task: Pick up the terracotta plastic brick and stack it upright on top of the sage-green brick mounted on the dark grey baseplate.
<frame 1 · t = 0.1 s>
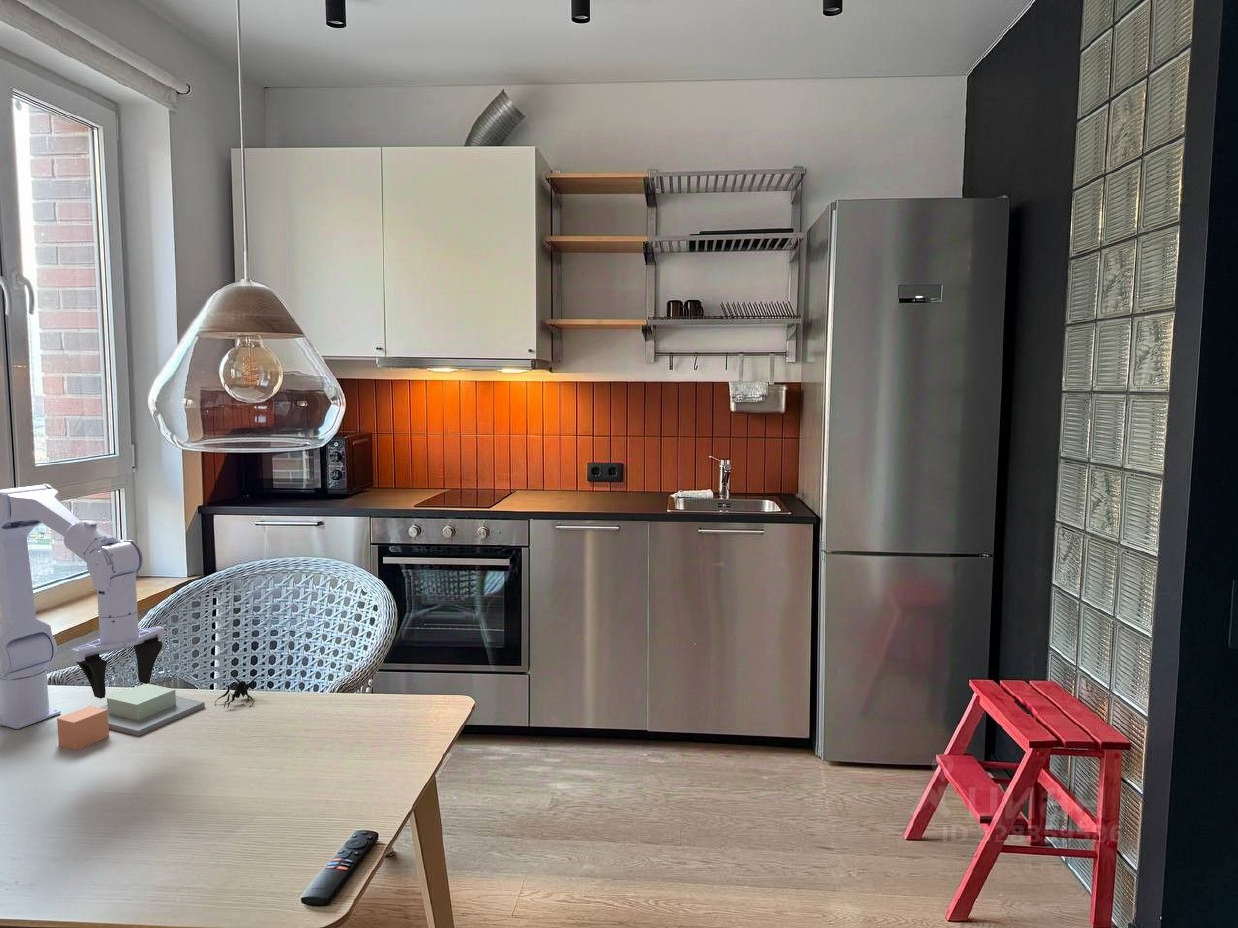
hand: (122, 689, 142), 10 cm above the table, tool pointing down, fingers open, 7 cm apart
creature: (236, 704, 161), on the table
tower base: (142, 713, 156), on the table
top brick: (84, 741, 145), on the table
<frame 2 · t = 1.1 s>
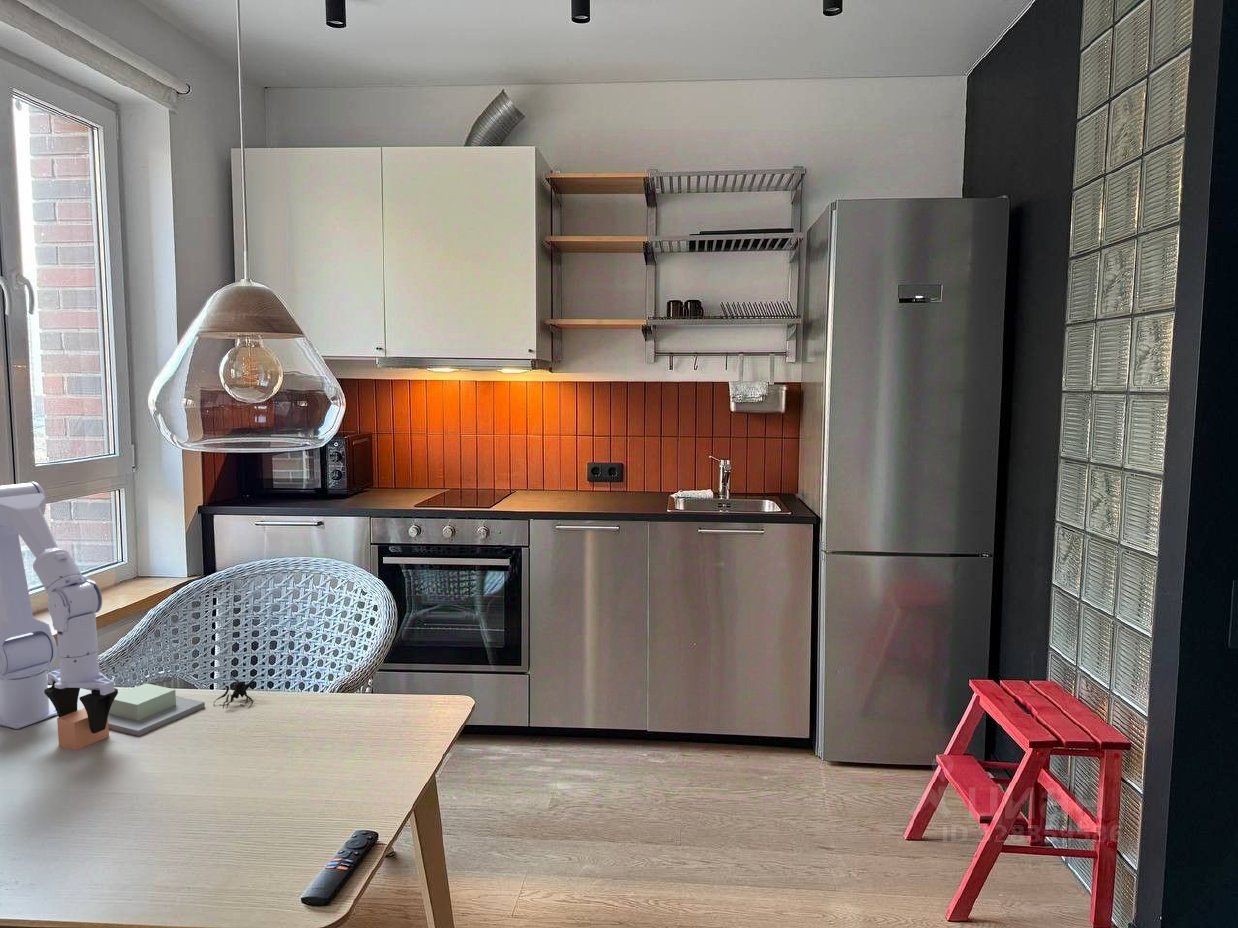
hand: (83, 727, 144), 2 cm above the table, tool pointing down, fingers open, 7 cm apart
nothing on the table moved.
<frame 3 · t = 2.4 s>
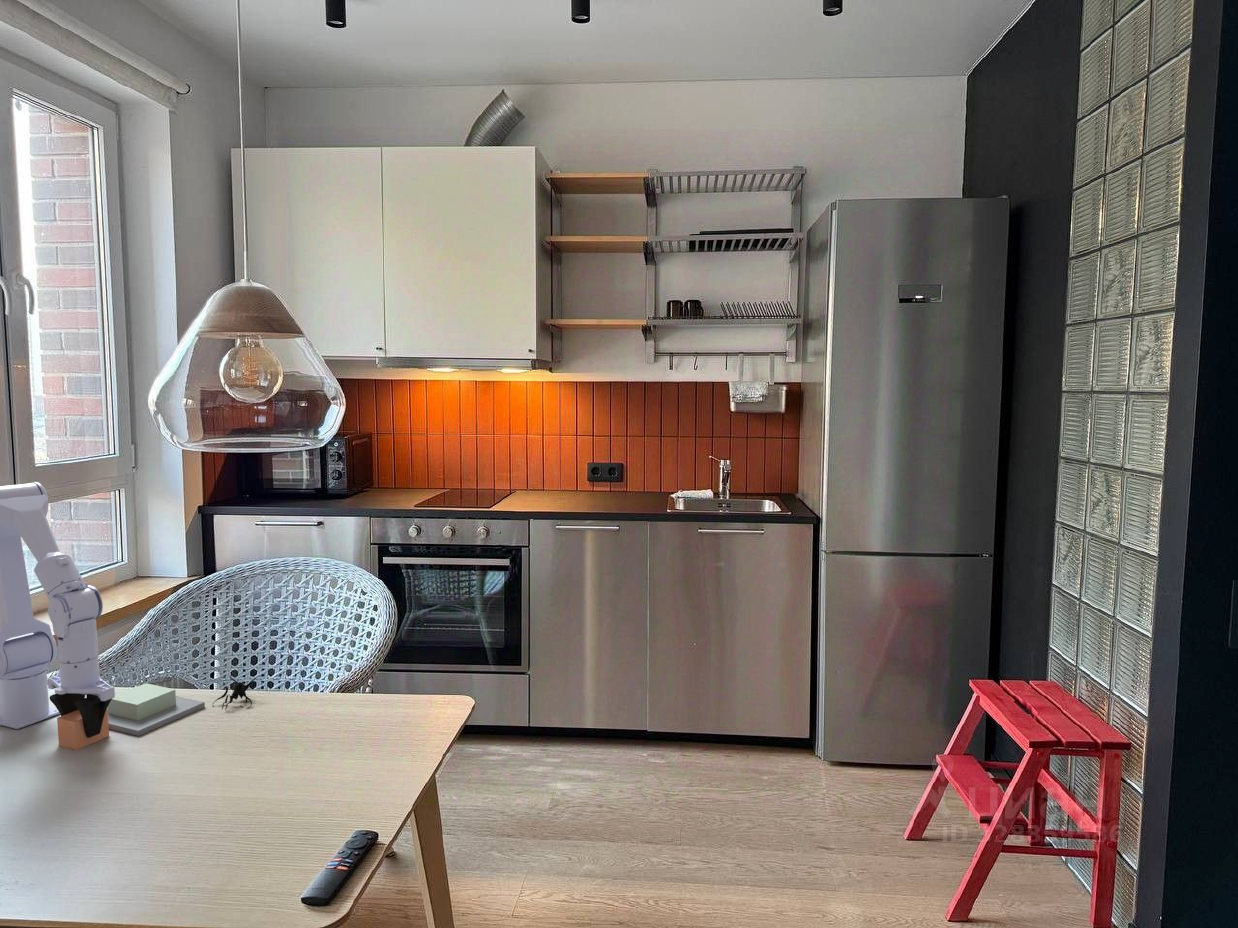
hand: (83, 732, 144), 1 cm above the table, tool pointing down, fingers closed on top brick, 4 cm apart
top brick: (84, 740, 145), on the table, touching gripper
everything else where it was.
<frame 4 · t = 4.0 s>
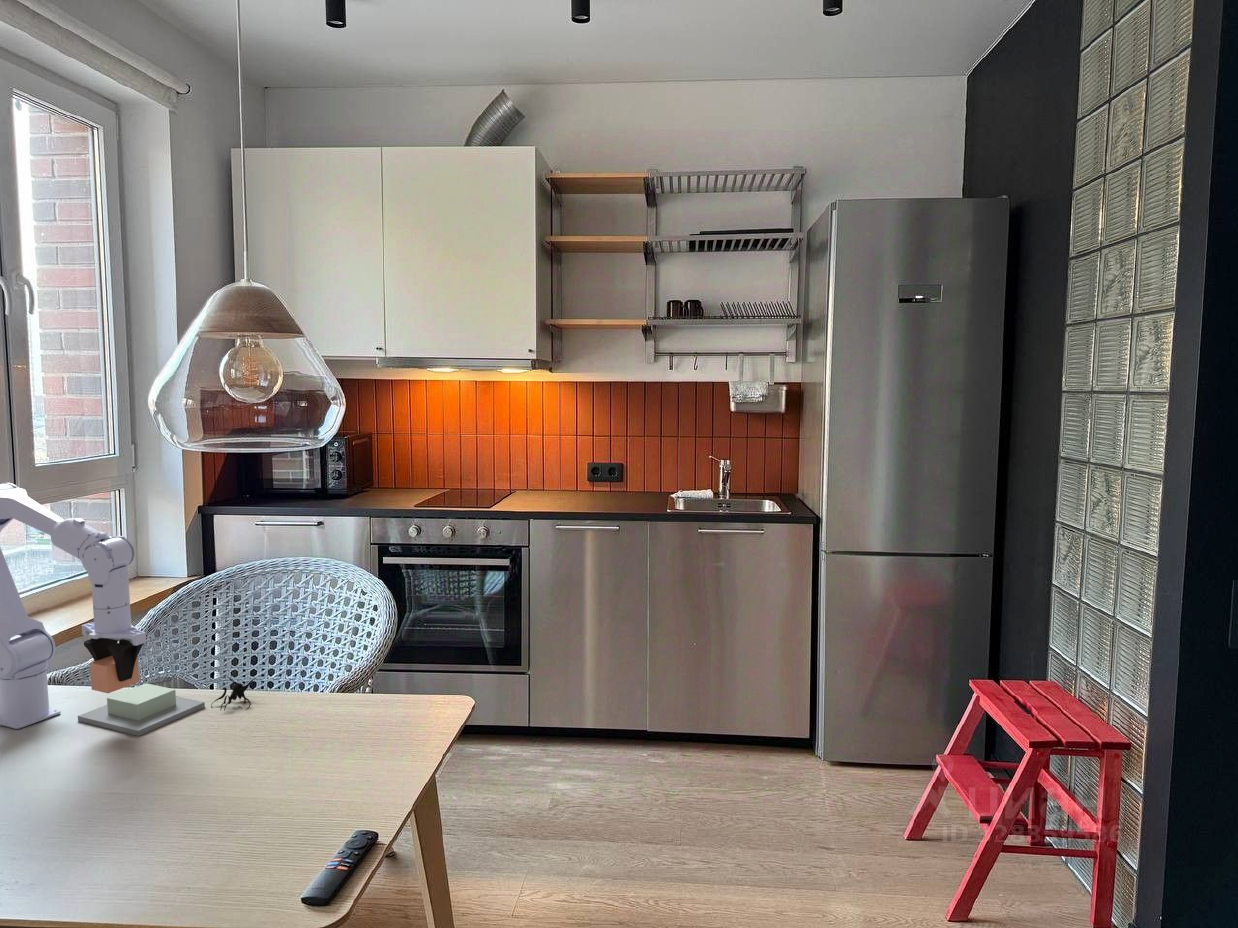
hand: (116, 677, 150), 9 cm above the table, tool pointing down, fingers closed on top brick, 4 cm apart
top brick: (115, 685, 150), point 8 cm above the table, touching gripper
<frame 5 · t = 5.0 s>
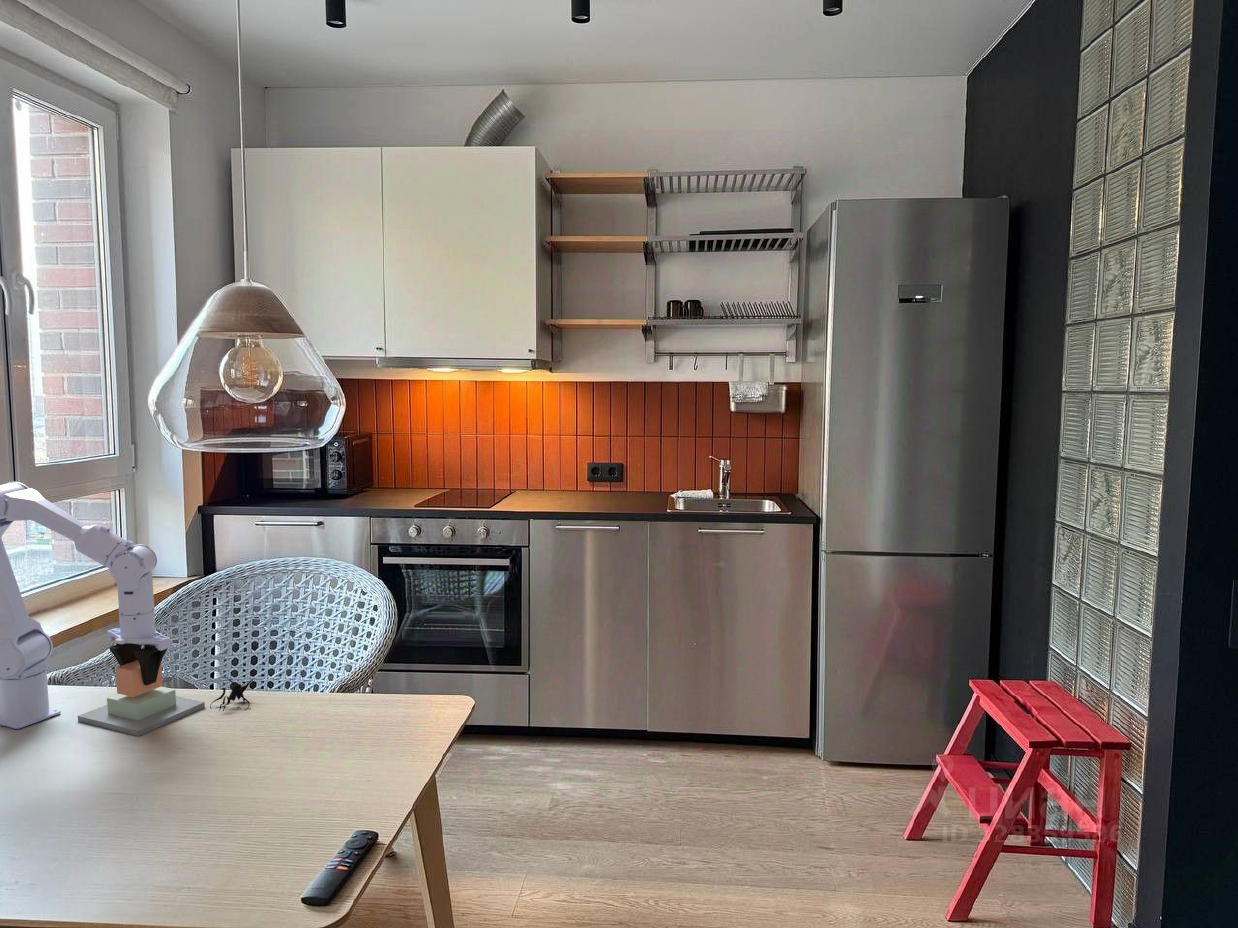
hand: (140, 681, 155), 6 cm above the table, tool pointing down, fingers closed on top brick, 4 cm apart
top brick: (140, 689, 155), point 5 cm above the table, touching gripper
when the fingers open (6 cm above the table, at t = 5.7 s): top brick stays where it is, resting on tower base.
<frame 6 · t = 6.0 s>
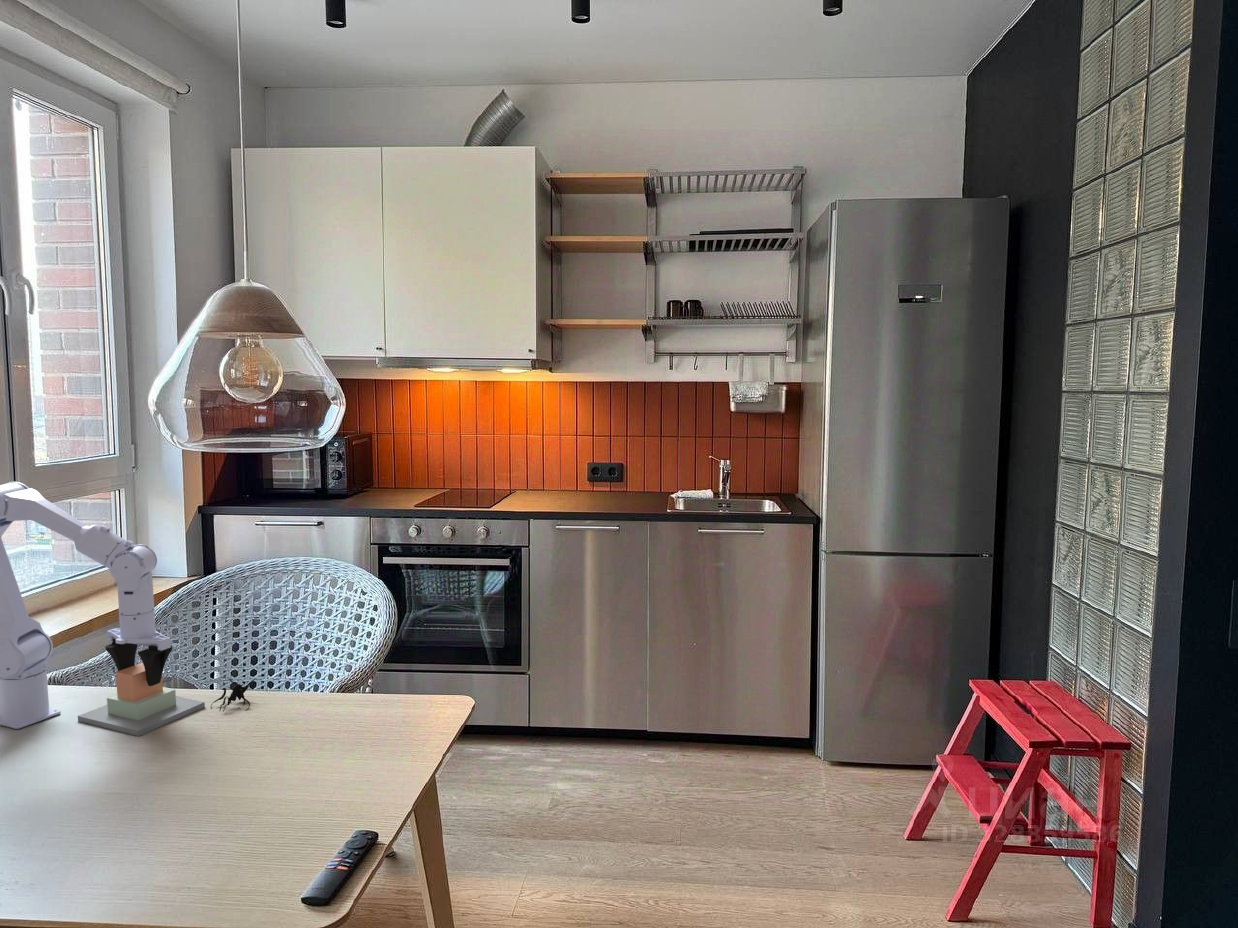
hand: (140, 681, 155), 6 cm above the table, tool pointing down, fingers open, 7 cm apart
top brick: (140, 693, 155), point 4 cm above the table, touching tower base
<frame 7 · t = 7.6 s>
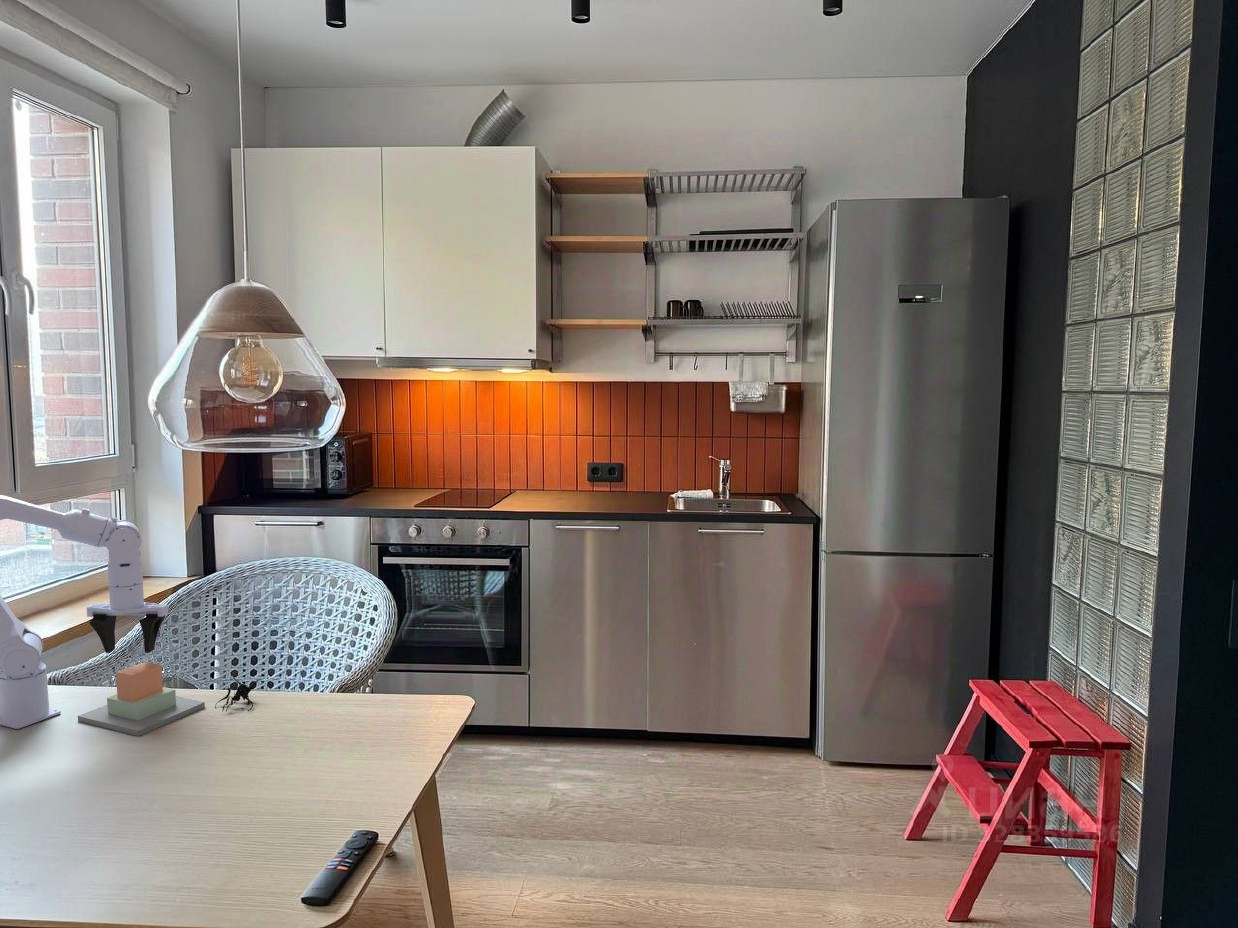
hand: (130, 651, 162), 10 cm above the table, tool pointing down, fingers open, 7 cm apart
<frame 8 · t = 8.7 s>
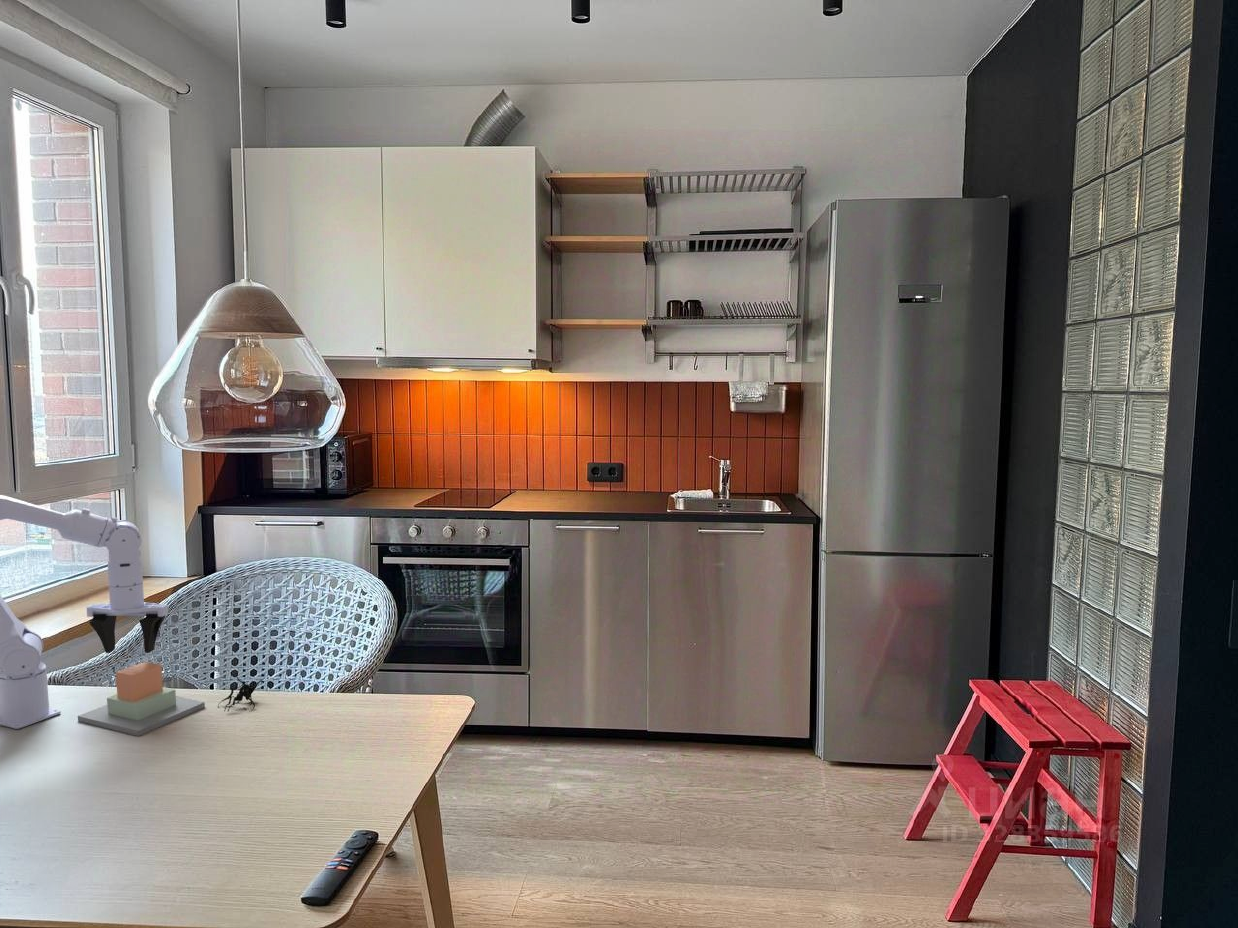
hand: (130, 651, 162), 10 cm above the table, tool pointing down, fingers open, 7 cm apart
at the end: top brick 0.2 cm off-centre on the tower base, point 4.0 cm above the tower base's base; top brick tilted 0°; the gripper is holding nothing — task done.
